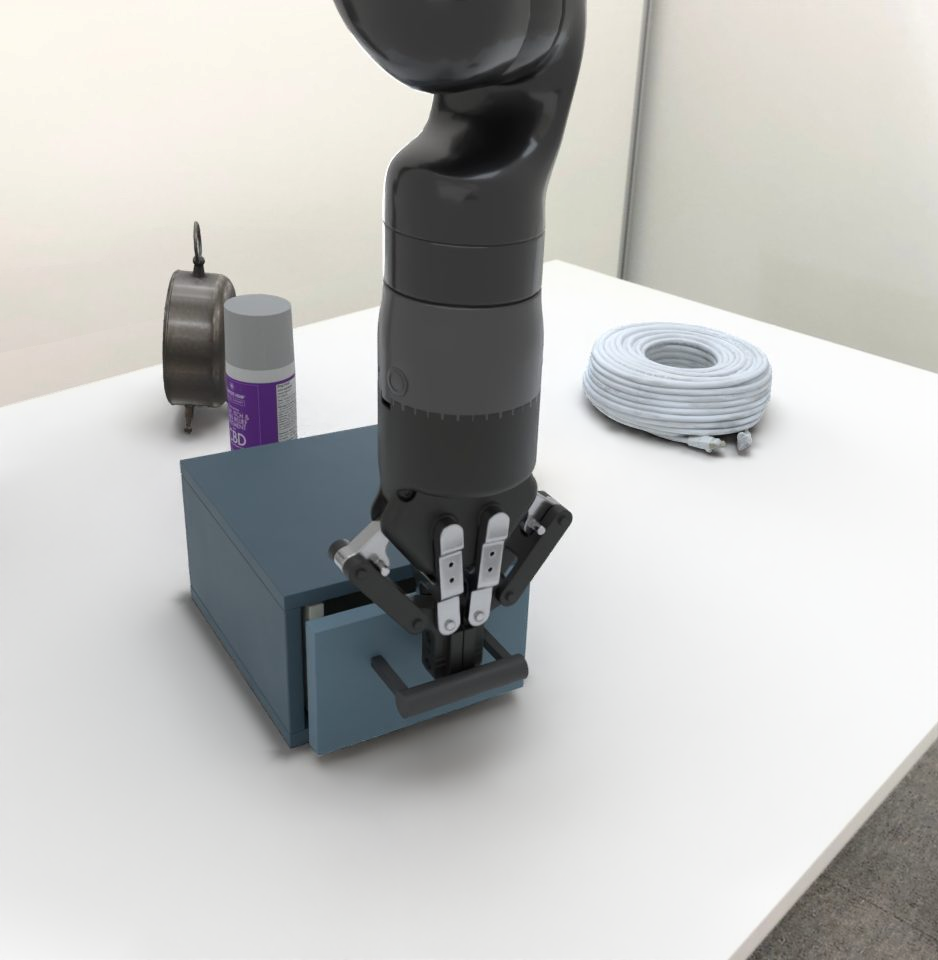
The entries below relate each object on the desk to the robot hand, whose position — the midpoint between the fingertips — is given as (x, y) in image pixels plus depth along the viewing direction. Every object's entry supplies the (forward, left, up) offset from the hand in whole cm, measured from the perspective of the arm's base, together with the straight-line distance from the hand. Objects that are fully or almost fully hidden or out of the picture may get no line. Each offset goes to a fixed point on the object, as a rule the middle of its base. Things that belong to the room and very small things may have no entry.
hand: (451, 677), depth 63 cm
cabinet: (0, +13, -5) cm, 14 cm away
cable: (+41, +33, -6) cm, 53 cm away
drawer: (0, +8, -4) cm, 9 cm away
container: (+2, +32, -5) cm, 33 cm away
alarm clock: (+3, +48, -5) cm, 48 cm away
